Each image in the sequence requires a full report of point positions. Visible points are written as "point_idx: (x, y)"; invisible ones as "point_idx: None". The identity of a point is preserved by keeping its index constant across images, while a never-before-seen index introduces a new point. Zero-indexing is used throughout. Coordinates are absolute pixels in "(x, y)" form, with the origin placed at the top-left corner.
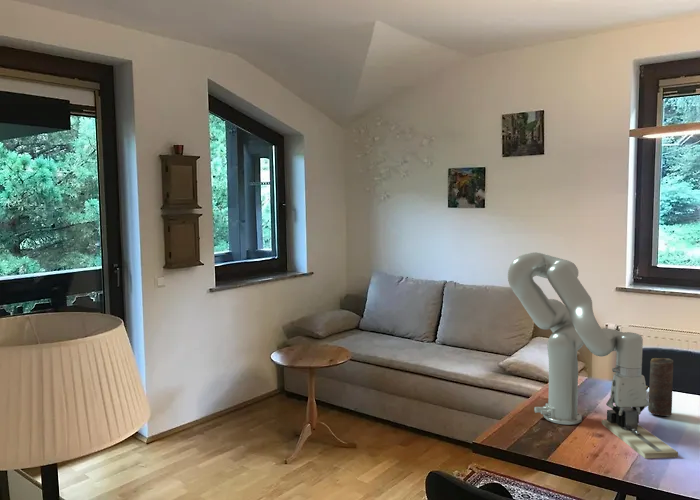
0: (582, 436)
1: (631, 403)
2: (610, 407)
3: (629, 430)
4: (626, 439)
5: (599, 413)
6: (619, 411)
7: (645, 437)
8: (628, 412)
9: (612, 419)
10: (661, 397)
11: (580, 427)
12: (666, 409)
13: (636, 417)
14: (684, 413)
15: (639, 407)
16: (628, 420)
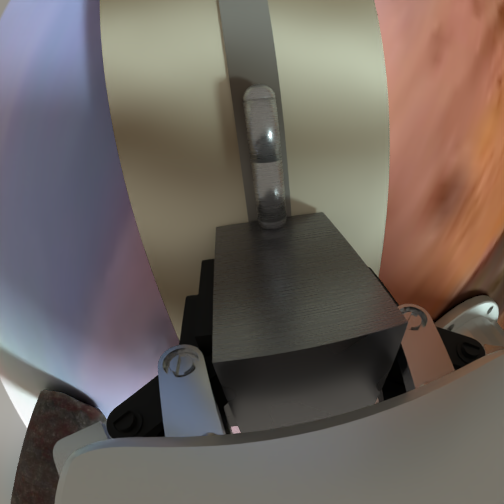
0: (498, 187)
1: (396, 473)
2: (502, 348)
3: (289, 207)
4: (381, 52)
5: None
6: (435, 333)
7: (208, 64)
8: (365, 326)
9: None
10: (48, 457)
11: (456, 282)
12: (43, 409)
13: (228, 295)
14: (21, 393)
15: (169, 429)
16: (324, 258)
